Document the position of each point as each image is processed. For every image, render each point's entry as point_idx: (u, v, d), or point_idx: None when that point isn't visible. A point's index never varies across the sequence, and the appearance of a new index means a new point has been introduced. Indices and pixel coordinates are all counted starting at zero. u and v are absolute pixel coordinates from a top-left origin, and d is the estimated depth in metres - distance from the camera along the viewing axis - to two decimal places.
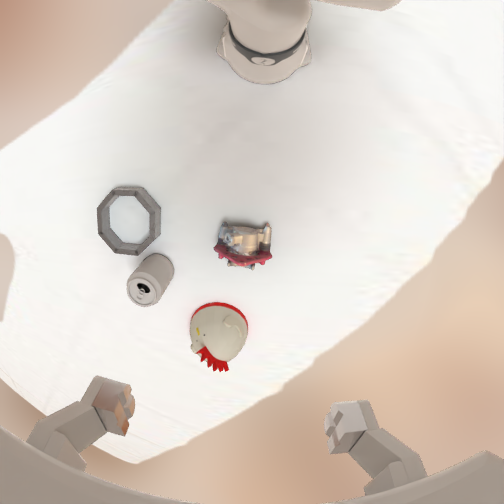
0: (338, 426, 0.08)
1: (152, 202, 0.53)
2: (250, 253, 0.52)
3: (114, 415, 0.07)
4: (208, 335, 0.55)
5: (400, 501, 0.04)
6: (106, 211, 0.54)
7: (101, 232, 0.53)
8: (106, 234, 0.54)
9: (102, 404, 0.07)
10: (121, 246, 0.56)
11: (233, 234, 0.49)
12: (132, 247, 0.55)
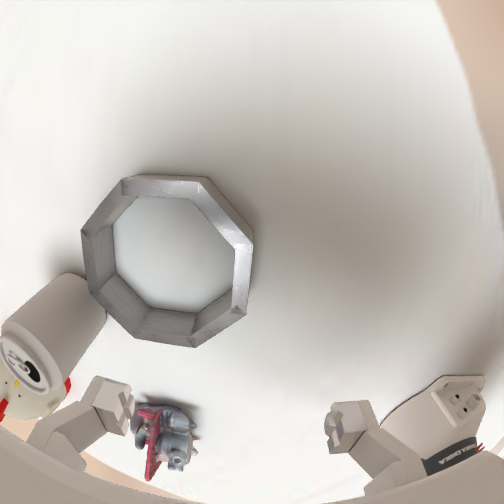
0: (338, 426, 0.08)
1: None
2: None
3: (114, 415, 0.07)
4: (22, 402, 0.21)
5: (400, 501, 0.04)
6: None
7: (126, 191, 0.18)
8: (122, 202, 0.19)
9: (102, 404, 0.07)
10: (101, 239, 0.21)
11: None
12: (103, 271, 0.21)
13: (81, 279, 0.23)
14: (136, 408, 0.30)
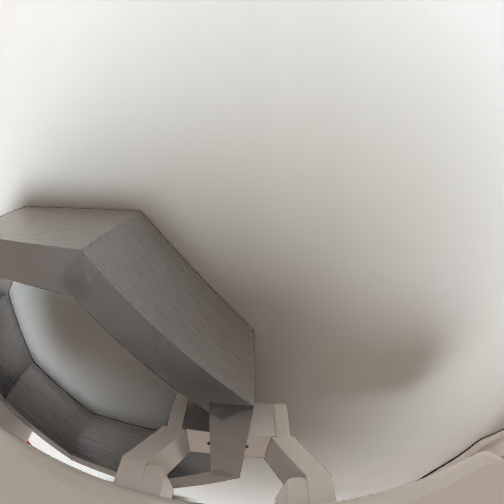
0: None
1: None
2: None
3: (209, 434, 0.07)
4: None
5: (400, 501, 0.04)
6: None
7: None
8: None
9: (194, 425, 0.08)
10: None
11: None
12: (4, 370, 0.09)
13: None
14: None
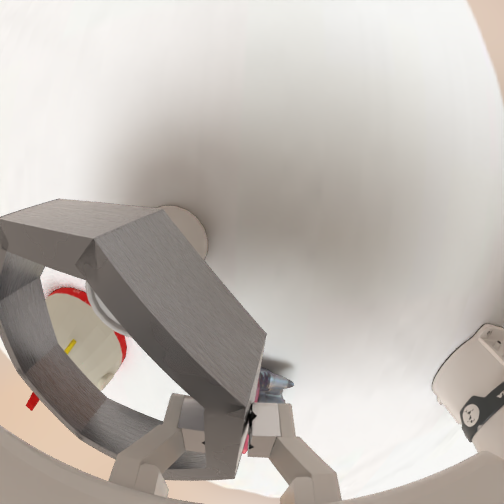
0: (251, 428, 0.08)
1: None
2: None
3: (204, 434, 0.07)
4: None
5: (400, 501, 0.04)
6: None
7: (4, 242, 0.07)
8: (13, 259, 0.08)
9: (189, 424, 0.08)
10: (16, 304, 0.10)
11: None
12: (27, 347, 0.11)
13: (186, 210, 0.24)
14: None
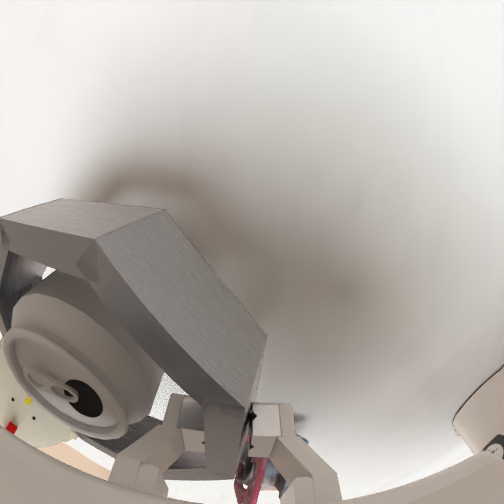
0: (251, 428, 0.08)
1: None
2: None
3: (203, 434, 0.07)
4: (37, 427, 0.14)
5: (400, 501, 0.04)
6: None
7: (6, 241, 0.07)
8: (15, 258, 0.08)
9: (189, 424, 0.08)
10: None
11: None
12: None
13: None
14: None
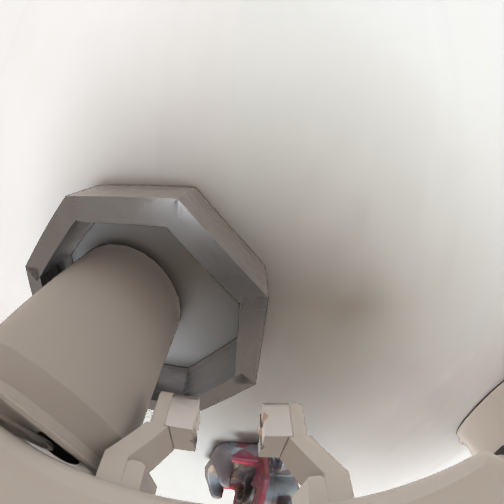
0: (262, 428, 0.08)
1: None
2: None
3: (191, 432, 0.07)
4: None
5: (400, 501, 0.04)
6: None
7: (72, 214, 0.11)
8: (72, 230, 0.12)
9: (176, 422, 0.08)
10: (54, 277, 0.13)
11: None
12: None
13: (140, 254, 0.14)
14: (220, 450, 0.21)
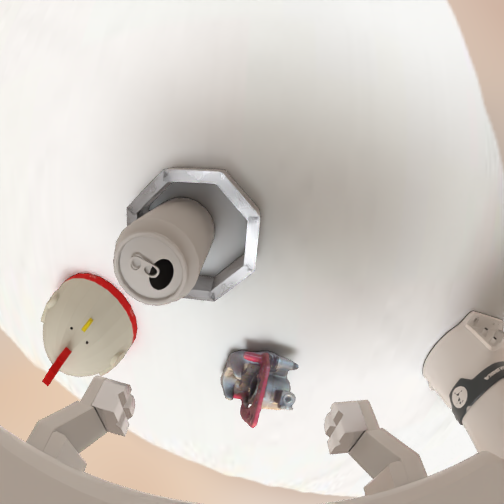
0: (338, 426, 0.08)
1: None
2: None
3: (114, 415, 0.07)
4: (88, 350, 0.27)
5: (400, 501, 0.04)
6: None
7: (166, 178, 0.25)
8: (163, 187, 0.26)
9: (102, 404, 0.07)
10: None
11: None
12: None
13: (196, 201, 0.29)
14: (234, 354, 0.36)
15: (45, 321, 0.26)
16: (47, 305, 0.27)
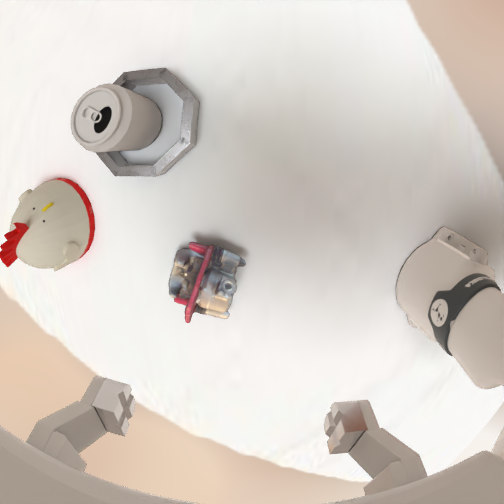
0: (338, 426, 0.08)
1: (170, 164, 0.32)
2: None
3: (114, 415, 0.07)
4: (43, 228, 0.27)
5: (400, 501, 0.04)
6: (160, 81, 0.29)
7: (125, 78, 0.26)
8: (122, 86, 0.27)
9: (102, 404, 0.07)
10: None
11: None
12: None
13: None
14: (183, 250, 0.37)
15: (15, 211, 0.27)
16: (20, 198, 0.28)
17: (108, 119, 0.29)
